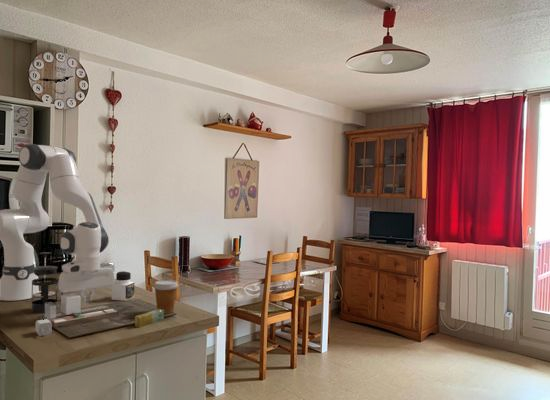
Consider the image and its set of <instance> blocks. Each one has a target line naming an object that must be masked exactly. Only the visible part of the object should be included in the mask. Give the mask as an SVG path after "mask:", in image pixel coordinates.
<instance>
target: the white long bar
mask: <svg viewBox="0 0 550 400" xmlns="http://www.w3.org/2000/svg"><path fill="white" fill-rule="evenodd" d="M99 306H100V305H99ZM93 307H94V306H93ZM87 308H88V307H87ZM81 309H82V308H81ZM104 309H107V307H105V306H100V307H94V308H88V309H82V310H81V311H80V313H76V314H81V313H87V312H92V311H98V310H104ZM56 313H57V310H56V305H55V304H53V303H52V302H47V303H45V313H44V315H45V317H46V318H48V319H49V320H53V319H56V318H58V317H64V316H70V315H72V314H68V315H66V314H64V313H59V312H58V313H59V314H56Z"/></svg>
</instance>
